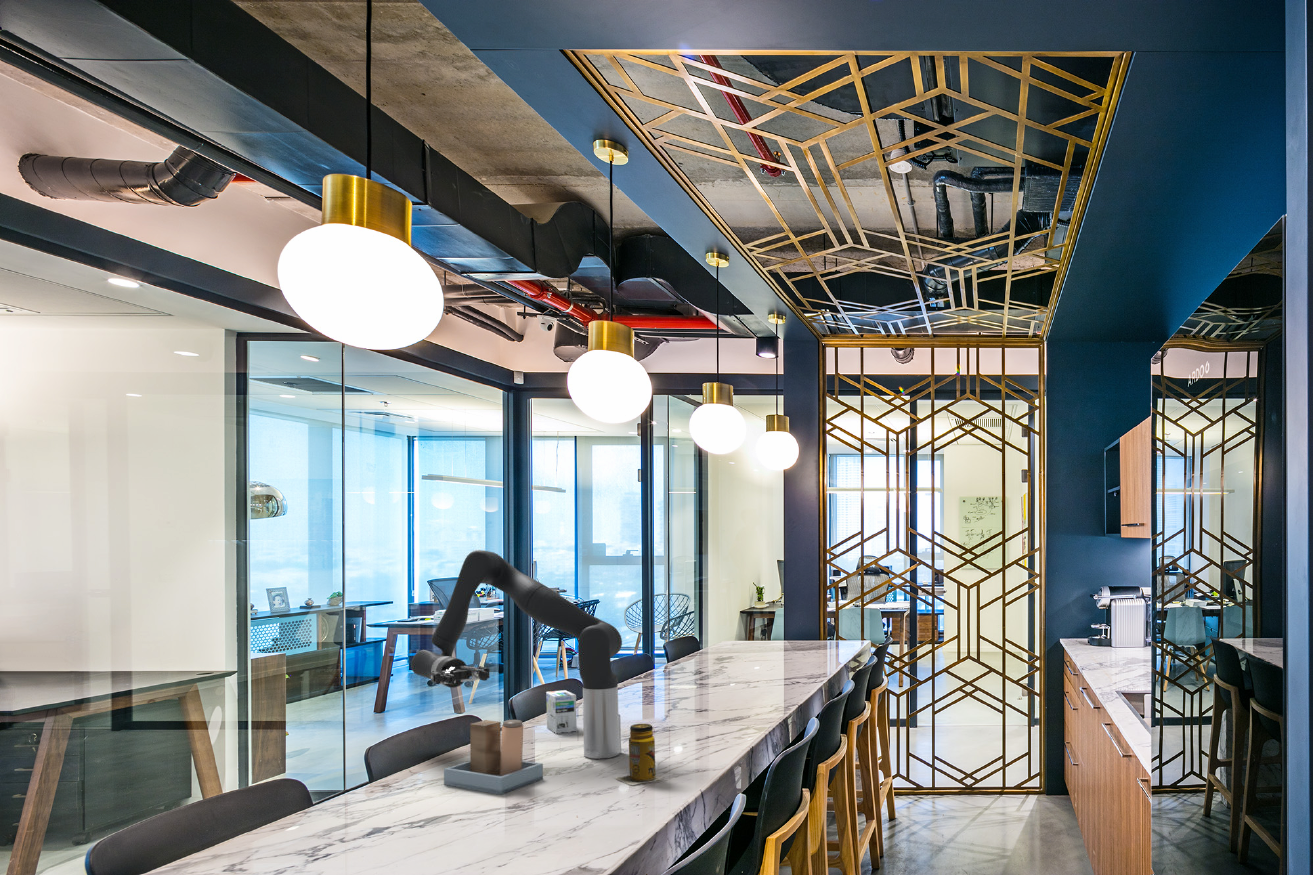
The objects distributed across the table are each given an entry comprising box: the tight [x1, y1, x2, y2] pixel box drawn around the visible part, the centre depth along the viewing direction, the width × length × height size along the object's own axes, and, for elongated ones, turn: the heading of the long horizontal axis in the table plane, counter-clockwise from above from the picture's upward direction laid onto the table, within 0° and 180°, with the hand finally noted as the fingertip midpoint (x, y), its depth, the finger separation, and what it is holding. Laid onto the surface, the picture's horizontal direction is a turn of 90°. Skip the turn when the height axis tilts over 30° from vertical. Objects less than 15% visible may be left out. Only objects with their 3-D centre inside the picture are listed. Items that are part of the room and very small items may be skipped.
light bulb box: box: [545, 689, 578, 734], centre depth 251 cm, size 11×7×11 cm, turn 23°
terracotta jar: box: [500, 719, 524, 776], centre depth 195 cm, size 5×5×13 cm
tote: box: [443, 760, 544, 795], centre depth 196 cm, size 14×18×4 cm
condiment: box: [615, 723, 663, 786], centre depth 194 cm, size 7×8×12 cm
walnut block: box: [469, 719, 502, 776], centre depth 199 cm, size 5×5×12 cm
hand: (469, 678), depth 210 cm, fingers open, 8 cm apart
